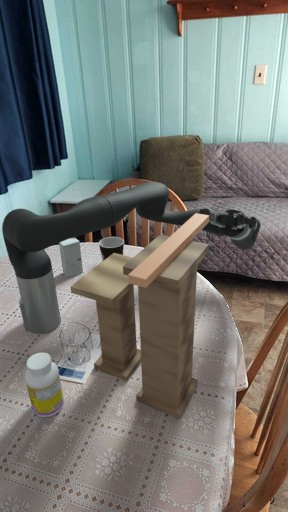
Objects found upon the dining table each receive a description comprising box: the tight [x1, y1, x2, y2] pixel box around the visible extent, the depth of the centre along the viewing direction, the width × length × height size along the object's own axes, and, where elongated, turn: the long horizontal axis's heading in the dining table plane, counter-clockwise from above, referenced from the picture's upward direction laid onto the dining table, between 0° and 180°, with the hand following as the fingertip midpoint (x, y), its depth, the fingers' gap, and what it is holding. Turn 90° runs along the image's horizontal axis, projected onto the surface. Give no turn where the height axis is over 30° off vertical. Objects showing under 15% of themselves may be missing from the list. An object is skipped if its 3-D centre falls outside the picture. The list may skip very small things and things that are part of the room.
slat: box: [128, 213, 209, 288], centre depth 64 cm, size 28×3×2 cm, turn 152°
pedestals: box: [70, 234, 210, 420], centre depth 75 cm, size 18×24×34 cm
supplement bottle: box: [24, 352, 65, 418], centre depth 73 cm, size 7×7×13 cm
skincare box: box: [58, 237, 84, 278], centre depth 123 cm, size 6×4×12 cm
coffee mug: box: [98, 236, 125, 262], centre depth 127 cm, size 12×9×10 cm
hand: (220, 214), depth 84 cm, fingers open, 8 cm apart
